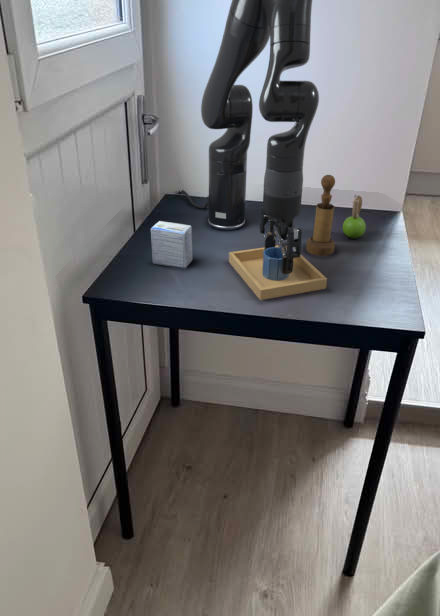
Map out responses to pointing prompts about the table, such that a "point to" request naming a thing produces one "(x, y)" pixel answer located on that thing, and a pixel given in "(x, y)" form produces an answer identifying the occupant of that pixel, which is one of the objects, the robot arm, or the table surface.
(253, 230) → the table surface
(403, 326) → the table surface
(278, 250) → the cup
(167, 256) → the medicine box
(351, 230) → the green ball with peg
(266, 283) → the tray
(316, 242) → the mortar and pestle
